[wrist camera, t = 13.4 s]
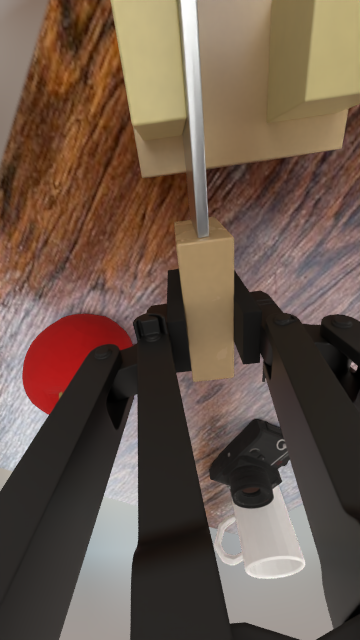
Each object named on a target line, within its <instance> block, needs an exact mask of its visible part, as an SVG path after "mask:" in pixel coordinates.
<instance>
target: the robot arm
mask: <svg viewBox="0 0 360 640" xmlns="http://www.w3.org/2000/svg"><path fill="white" fill-rule="evenodd" d="M133 326H134V330H135V333H136V337H137V344H135V345H133V346H131V347H129V348H126V349H123V350H120V349H119V347H118V346H117V345H115V344H104V345H101V346H98V347H96V348H94V349H93V350H91V351H90V353H89V354H88V355H87V356H86V358H85V360H84V361H83V363H82V364H81V366H80V367H79V369H78V371H77V372H76V374H75V375H74V377H73V378H72V380H71V382H70V383H69V385H68V386H67V388H66V389H65V391H64V392H63V394H62V396H61V397H60V399H59V400H58V402H57V403H56V405H55V407H54V408H53V410H52V411H51V413H50V414H49V416H48V418H47V419H46V421H45V422H44V424H43V425H42V427H41V428H40V430H39V432H38V433H37V435H36V436H35V438H34V439H33V441H32V443H31V444H30V446H29V447H28V449H27V450H26V452H25V454H24V455H23V457H22V458H21V460H20V461H19V463H18V464H17V466H16V468H15V469H14V471H13V472H12V474H11V476H10V477H9V479H8V480H7V482H6V483H5V485H4V486H3V488H2V490H1V491H0V640H59V638H60V634H61V631H62V628H63V625H64V621H65V618H66V615H67V612H68V608H69V605H70V602H71V599H72V596H73V592H74V589H75V586H76V583H77V580H78V576H79V573H80V570H81V567H82V563H83V560H84V557H85V554H86V551H87V547H88V544H89V541H90V538H91V535H92V531H93V528H94V525H95V522H96V518H97V515H98V512H99V509H100V506H101V502H102V499H103V496H104V493H105V489H106V486H107V483H108V480H109V477H110V473H111V470H112V467H113V464H114V460H115V457H116V454H117V451H118V448H119V444H120V441H121V438H122V435H123V431H124V428H125V425H126V422H127V419H128V415H129V412H130V409H131V406H132V403H133V399H134V395H136V394H138V526H139V527H138V529H139V530H138V531H139V532H138V545H137V548H136V550H135V552H134V556H133V562H132V577H131V634H130V640H299V639H296V638H293V637H289V636H287V635H283V634H280V633H277V632H274V631H271V630H267V629H264V628H261V627H258V626H255V625H252V624H248V623H232V624H230V623H229V618H228V613H227V609H226V604H225V599H224V594H223V590H222V585H221V580H220V575H219V571H218V566H217V561H216V557H215V552H214V547H213V543H212V539H211V534H210V530H209V526H208V522H207V517H206V513H205V508H204V503H203V498H202V494H201V489H200V484H199V479H198V475H197V470H196V465H195V460H194V456H193V451H192V446H191V441H190V437H189V432H188V427H187V422H186V417H185V413H184V408H183V403H182V398H181V394H180V389H179V384H178V379H177V375H176V373H177V372H185V371H192V368H191V359H190V350H189V342H188V335H187V327H186V320H185V313H184V305H183V297H182V289H181V281H180V273H179V269H175V270H168V287H167V304H161V305H153V306H151V307H150V308H149V309H148V310H147V313H146V314H143V315H141V316H139V317H137V318H136V319H135V320H134V322H133ZM234 342H235V345H236V347H237V350H238V352H239V355H240V357H241V360H242V363H243V364H252V363H260V353H261V355H262V357H263V359H264V360H263V378H262V382H265V378H266V380H267V383H268V387H269V390H270V394H271V397H272V400H273V404H274V407H275V410H276V414H277V417H278V421H279V424H280V427H281V431H282V434H283V437H284V441H285V444H286V447H287V451H288V454H289V458H290V461H291V464H292V468H293V471H294V474H295V478H296V481H297V484H298V488H299V491H300V495H301V498H302V501H303V505H304V508H305V511H306V514H307V518H308V521H309V525H310V528H311V532H312V535H313V538H314V542H315V545H316V548H317V552H318V555H319V559H320V564H321V570H322V581H323V588H324V593H325V599H326V602H327V607H328V611H329V614H330V618H331V621H332V625H333V628H334V629H333V630H332V631H330V632H328V633H327V634H325V635H323V636H322V637H320V638H318V639H317V640H360V321H358V320H356V319H354V318H352V317H349V316H345V315H339V314H335V315H328V316H325V317H324V318H323V319H322V321H321V325H309V324H302V323H301V322H300V320H299V319H298V318H297V317H296V316H294V315H291V314H287V313H283V312H282V311H281V309H280V308H279V307H278V306H277V305H276V303H275V302H274V301H273V300H272V299H271V297H270V296H269V295H268V294H266V293H264V292H262V291H255V292H249V291H248V289H247V288H246V286H245V285H244V284H243V282H242V281H241V279H240V278H239V276H238V275H237V273H236V272H235V270H234ZM352 361H353V362H354V363H355V364H356V365H357V366H358V369H357V371H355V370H354V369H353V368H351V367H350V365H351V362H352Z"/></svg>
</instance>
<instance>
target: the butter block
mask: <svg viewBox="0 0 360 640" xmlns="http://www.w3.org/2000/svg"><path fill="white" fill-rule="evenodd" d="M359 104H360V0H272V7H271V31H270V55H269V79H268V104H267V123H273V122H280V121H286V120H293V119H299V118H306V117H313V116H319V115H326V114H332V113H338V112H341V111H343V110H346V109H348V108H351V107H353V106H356V105H359Z"/></svg>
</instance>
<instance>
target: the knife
mask: <svg viewBox="0 0 360 640" xmlns="http://www.w3.org/2000/svg"><path fill="white" fill-rule="evenodd" d="M178 11H179V23H180V36H181V48H182V60H183V73H184V85H185V97H186V110H187V119H186V122H185V126H184V129H183V144H184V156H185V167H186V178H187V189H188V200H189V212H190V220H185V221H177V222H174V228H175V239H176V249H177V257H178V265H179V273H180V281H181V289H182V297H183V305H184V313H185V320H186V327H187V335H188V342H189V350H190V359H191V368H192V377H193V381H194V382H198V381H207V380H216V379H225V378H233V377H234V237H233V236H232V235H231V234H230V233H229V232H228V231H227V230H226V229H225V228H224V226H223V225H222V224H221V223H220V222H219V221H218V220H217V219H216V218H215V217H208V200H207V181H206V162H205V142H204V123H203V104H202V85H201V65H200V46H199V27H198V7H197V0H178Z"/></svg>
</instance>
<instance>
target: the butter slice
mask: <svg viewBox="0 0 360 640" xmlns="http://www.w3.org/2000/svg"><path fill="white" fill-rule="evenodd" d="M111 5H112V11H113V17H114V23H115V29H116V35H117V40H118V46H119V52H120V58H121V64H122V69H123V75H124V81H125V87H126V93H127V99H128V104H129V110H130V116H131V122H132V125H133V127H134V128H135V130H136V131H137V132H138V134H139V135H140V137H141V138H142V139H143V140H144V141H145V140H152V139H159V138H166V137H173V136H180V135H182V133H183V129H184V126H185V122H186V119H187V110H186V97H185V85H184V73H183V60H182V48H181V36H180V23H179V11H178V0H111Z"/></svg>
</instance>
